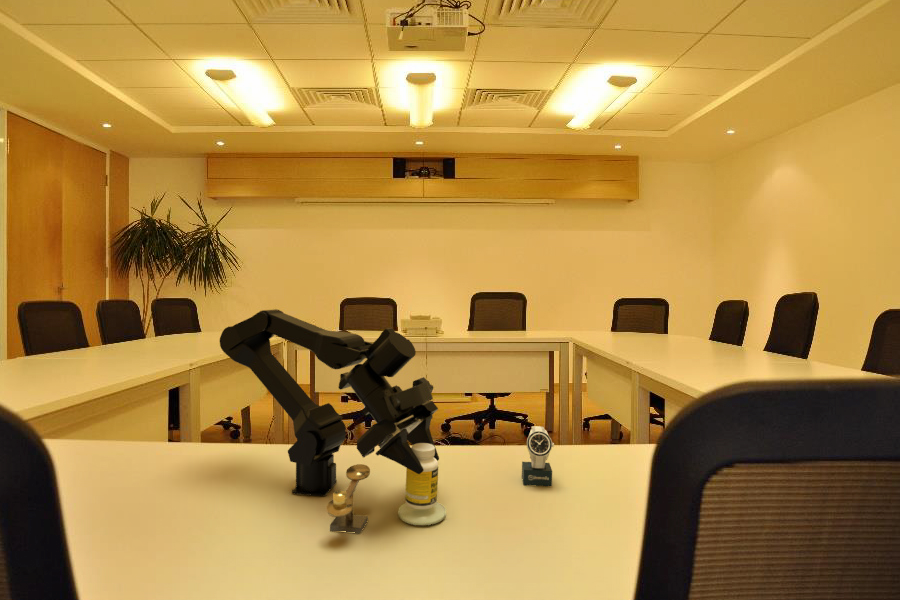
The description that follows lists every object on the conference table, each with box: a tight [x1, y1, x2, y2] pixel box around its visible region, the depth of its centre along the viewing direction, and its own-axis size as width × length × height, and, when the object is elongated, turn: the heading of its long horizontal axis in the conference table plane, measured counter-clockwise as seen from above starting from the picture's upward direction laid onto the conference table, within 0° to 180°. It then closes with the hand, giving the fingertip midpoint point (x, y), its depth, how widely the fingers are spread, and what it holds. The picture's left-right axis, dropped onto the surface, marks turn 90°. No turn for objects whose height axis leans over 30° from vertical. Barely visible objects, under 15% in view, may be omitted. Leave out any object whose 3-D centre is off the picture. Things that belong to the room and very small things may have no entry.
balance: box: [326, 463, 371, 534], centre depth 82 cm, size 5×13×8 cm, turn 173°
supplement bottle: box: [405, 443, 439, 509], centre depth 86 cm, size 5×5×10 cm
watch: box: [521, 425, 555, 487], centre depth 101 cm, size 6×8×11 cm
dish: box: [398, 501, 447, 526], centre depth 86 cm, size 8×8×1 cm
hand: (429, 466), depth 85 cm, fingers closed on supplement bottle, 5 cm apart
